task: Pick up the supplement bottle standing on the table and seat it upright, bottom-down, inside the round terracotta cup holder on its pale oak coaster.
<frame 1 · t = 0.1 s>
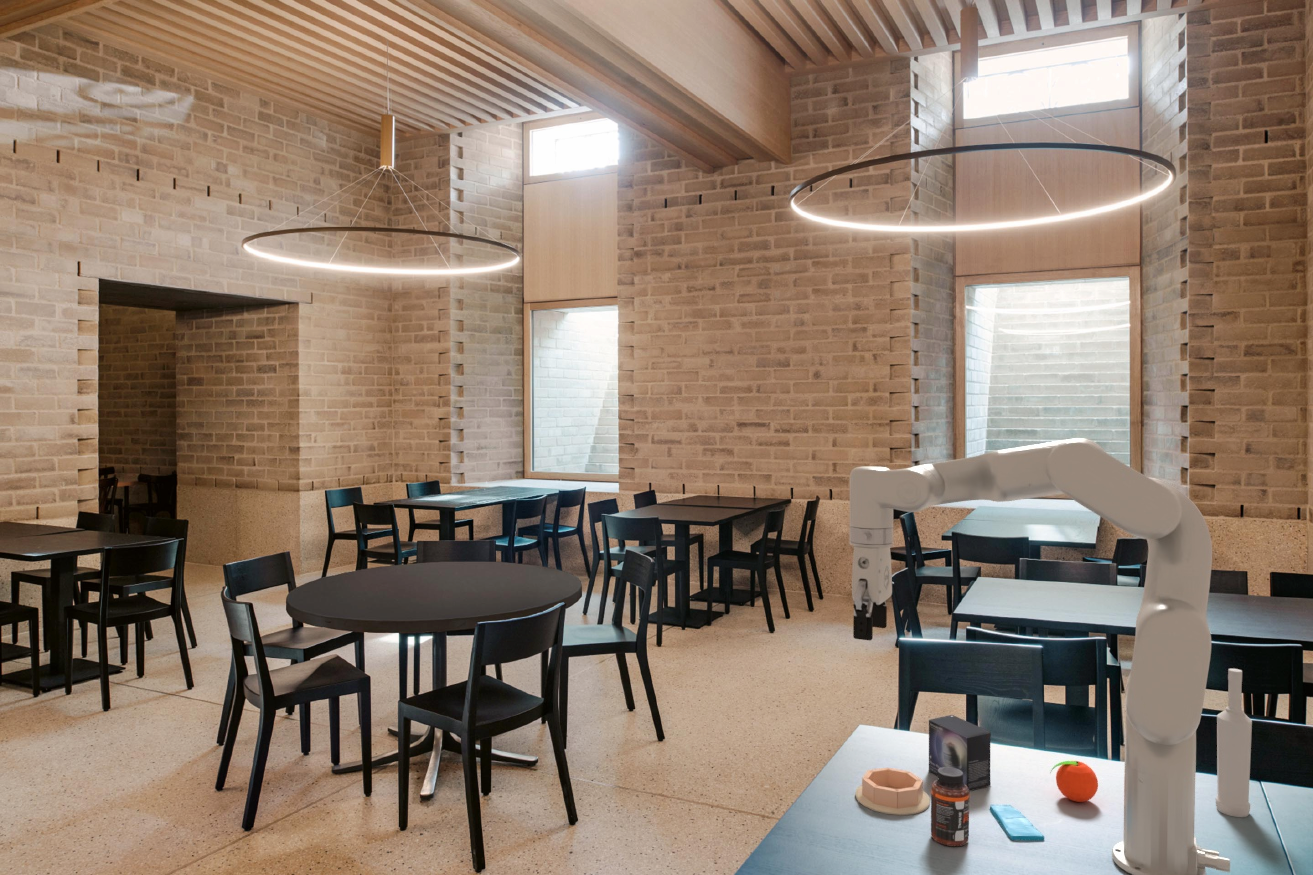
hand: (870, 632, 159), 31 cm above the table, tool pointing down, fingers open, 9 cm apart
bottle: (1232, 812, 158), on the table
supplement bottle: (949, 840, 148), on the table
clementine: (1073, 800, 163), on the table
sponge: (1016, 827, 153), on the table
small box: (958, 779, 172), on the table
cup holder: (892, 798, 163), on the table
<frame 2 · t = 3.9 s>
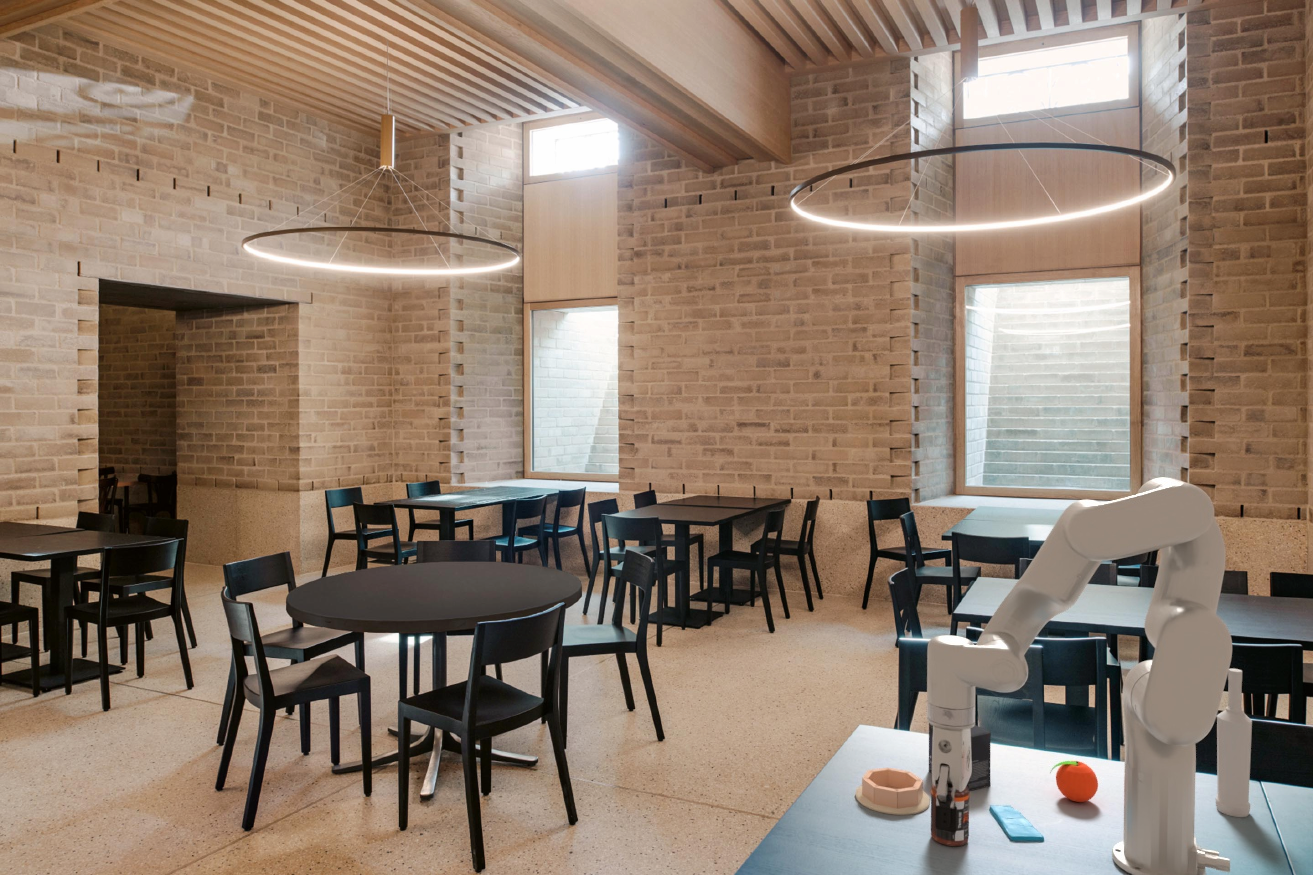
hand: (949, 820, 148), 3 cm above the table, tool pointing down, fingers closed on supplement bottle, 6 cm apart
supplement bottle: (949, 840, 148), on the table, touching gripper
everything else where it was.
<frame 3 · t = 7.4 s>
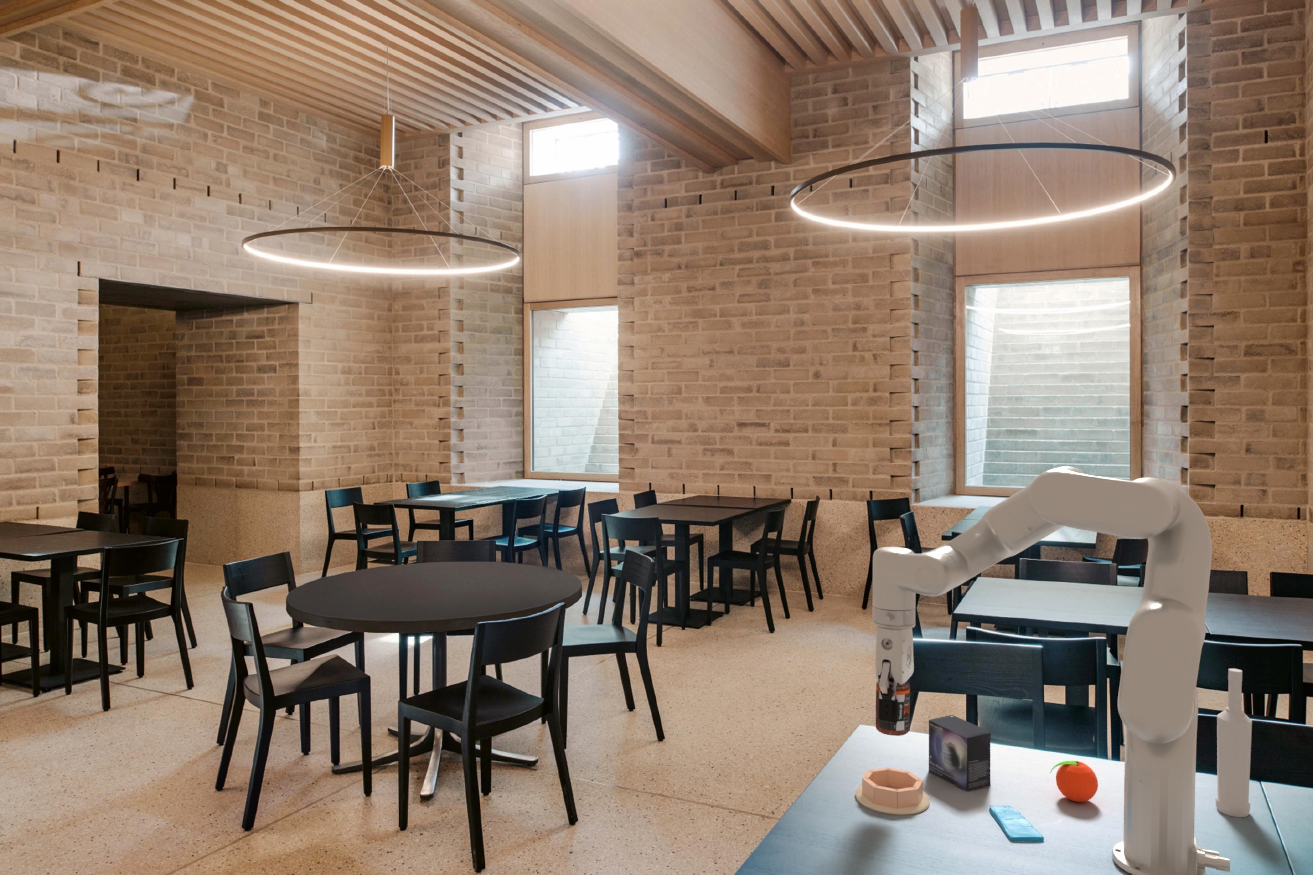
hand: (892, 714, 163), 15 cm above the table, tool pointing down, fingers closed on supplement bottle, 6 cm apart
supplement bottle: (892, 732, 163), point 12 cm above the table, touching gripper
everything else where it was.
when the fingers open (5 cm above the table, at t = 10.0 s): supplement bottle drops 1 cm, resting on cup holder.
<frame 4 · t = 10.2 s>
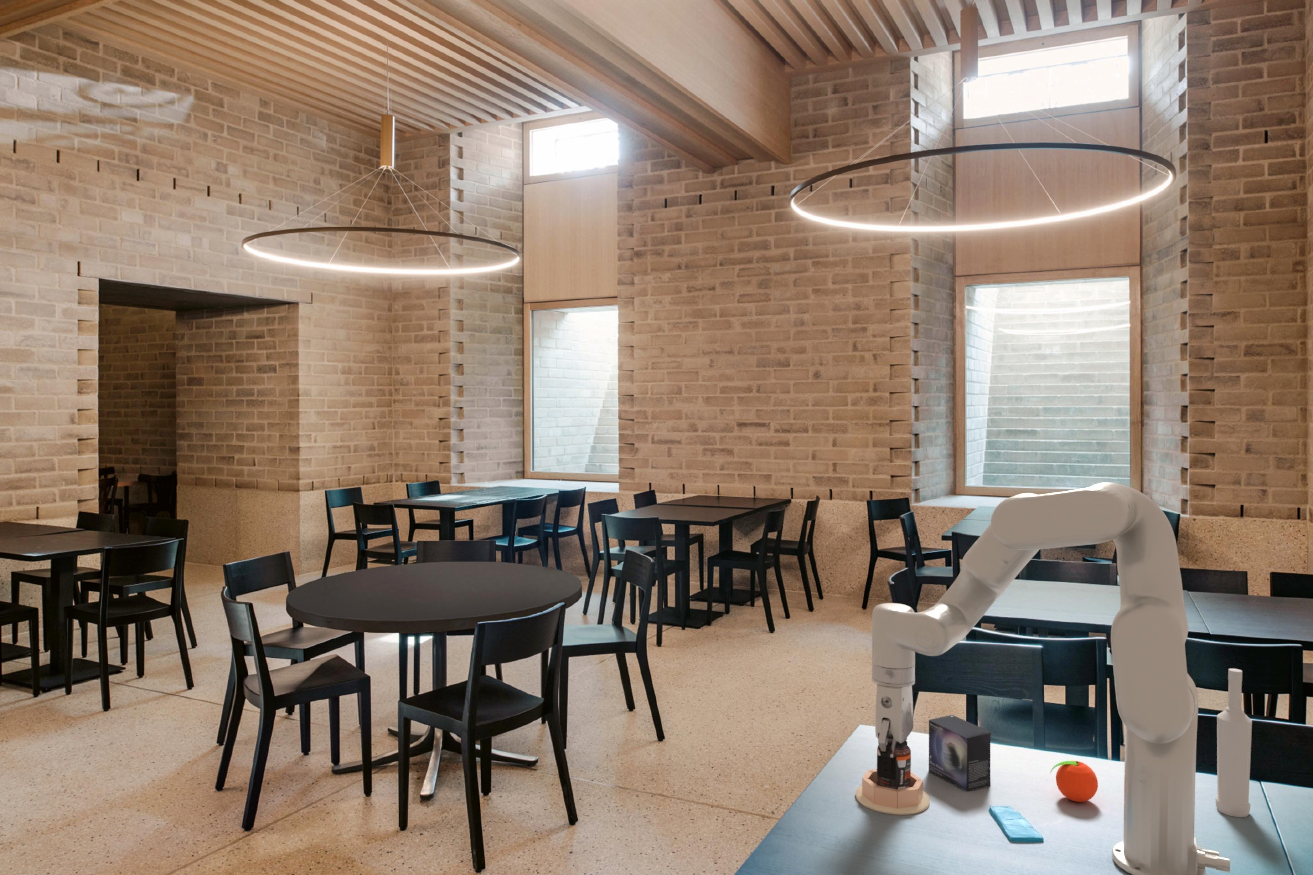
hand: (892, 768, 163), 5 cm above the table, tool pointing down, fingers open, 7 cm apart
supplement bottle: (893, 796, 163), resting on cup holder
everything else where it was.
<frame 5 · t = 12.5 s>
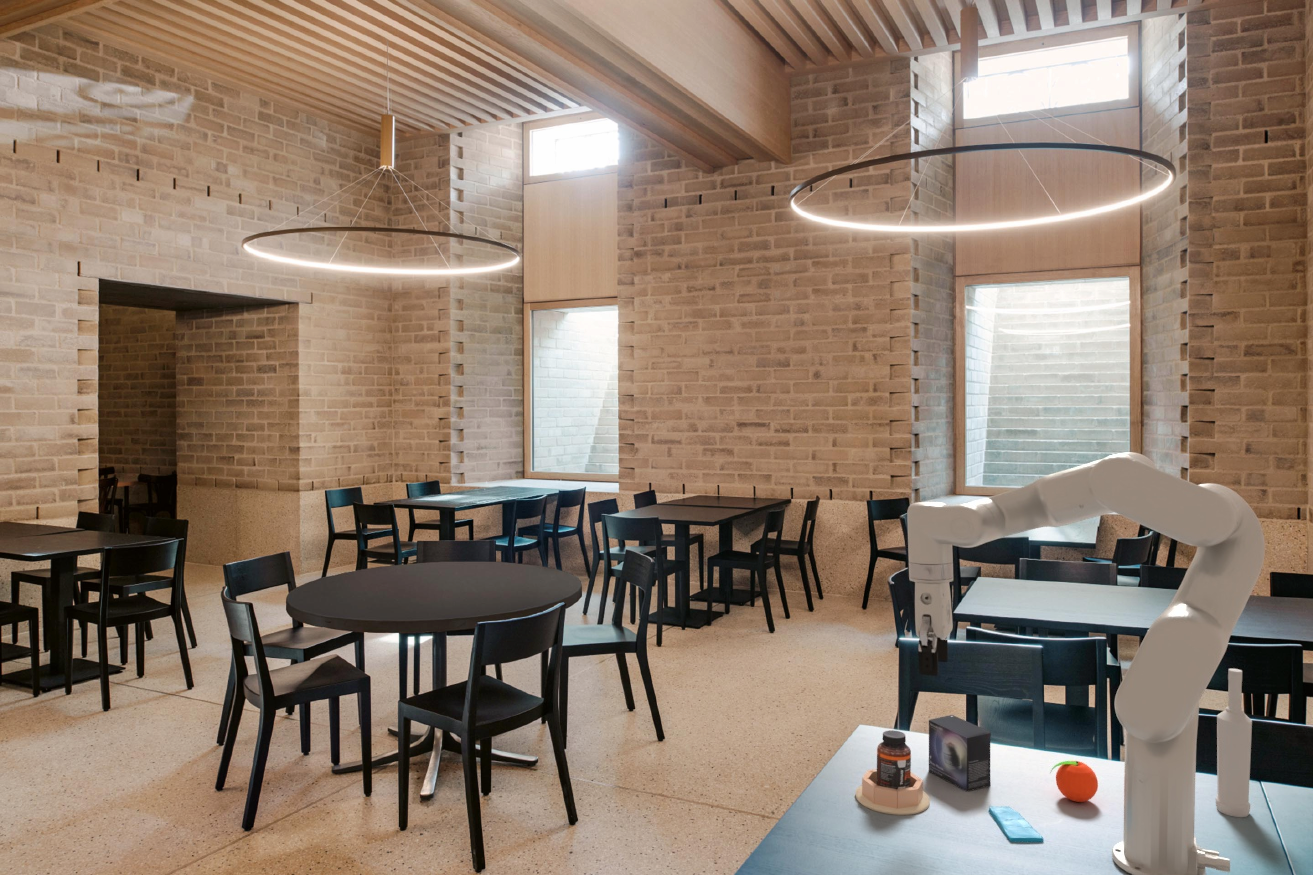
hand: (933, 667, 160), 25 cm above the table, tool pointing down, fingers open, 9 cm apart
nothing on the table moved.
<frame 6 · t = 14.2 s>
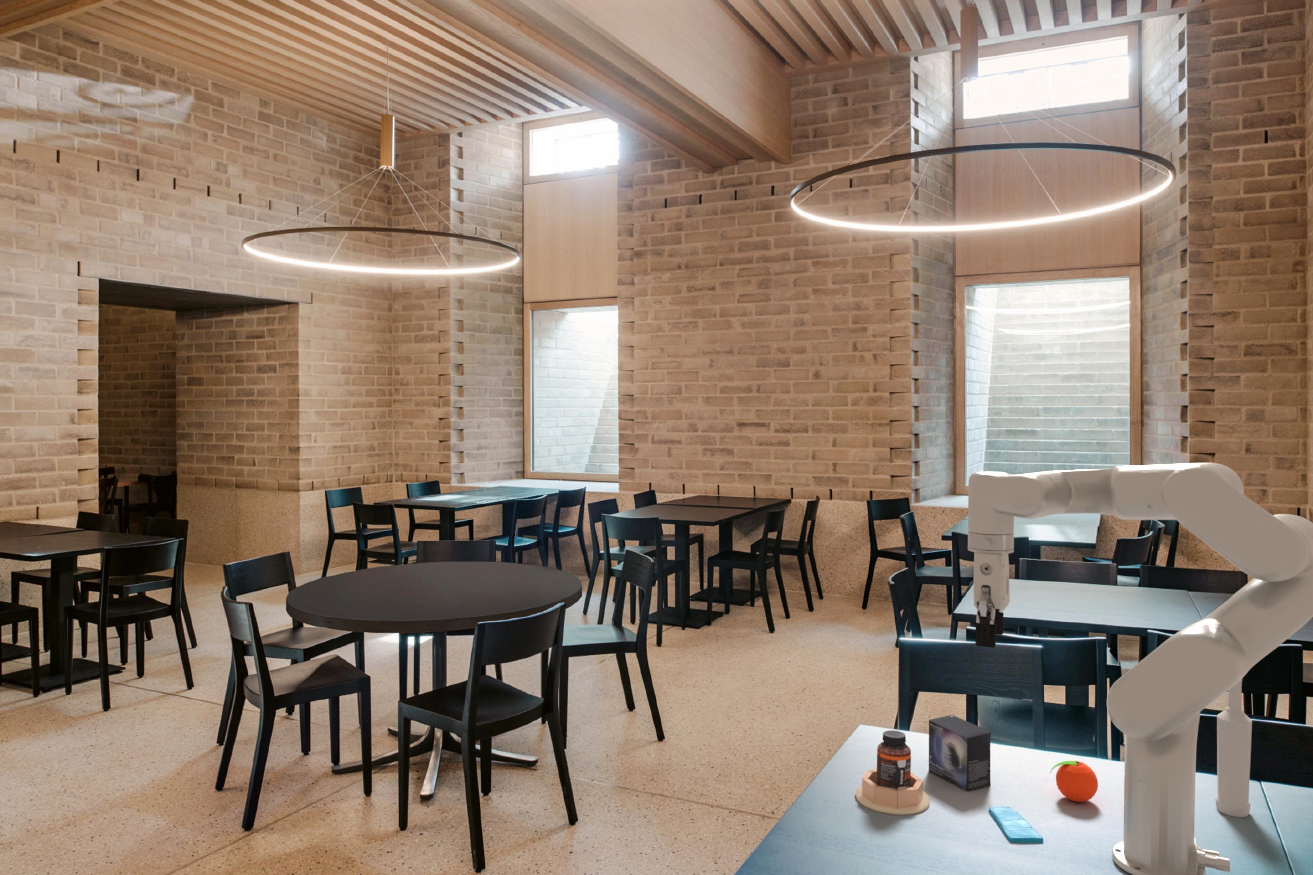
hand: (989, 639, 157), 30 cm above the table, tool pointing down, fingers open, 9 cm apart
nothing on the table moved.
at the end: supplement bottle 0.2 cm off-centre on the cup holder, point 0.4 cm above the cup holder's base; supplement bottle tilted 0°; the gripper is holding nothing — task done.
